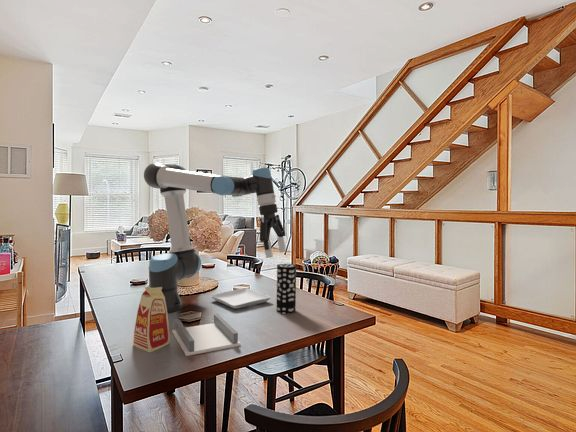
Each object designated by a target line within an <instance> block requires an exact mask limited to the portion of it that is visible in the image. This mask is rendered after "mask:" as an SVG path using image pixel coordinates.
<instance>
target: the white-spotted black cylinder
mask: <svg viewBox="0 0 576 432" xmlns="http://www.w3.org/2000/svg"><path fill="white" fill-rule="evenodd" d="M296 290H297V265H296V264H292V263H280V264H277V265H276V313H279V314H283V315H291V314H295V312H296V308H297V307H296V305H297V304H296V303H297V300H296V299H297V297H296V296H297V291H296Z"/></svg>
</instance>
